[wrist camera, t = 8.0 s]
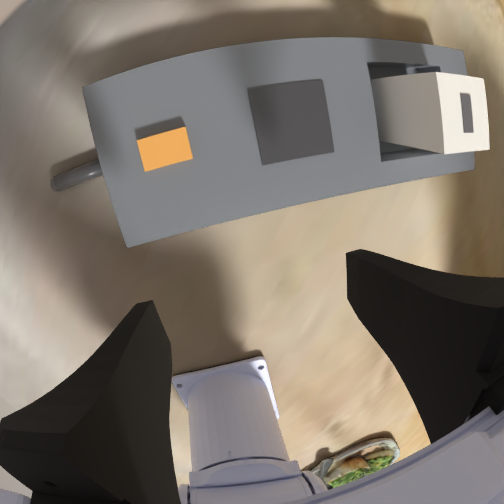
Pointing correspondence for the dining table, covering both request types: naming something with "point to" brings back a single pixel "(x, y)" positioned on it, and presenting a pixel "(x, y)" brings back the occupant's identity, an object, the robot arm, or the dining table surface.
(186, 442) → the dining table surface
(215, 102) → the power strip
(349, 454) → the salad plate
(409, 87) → the block
